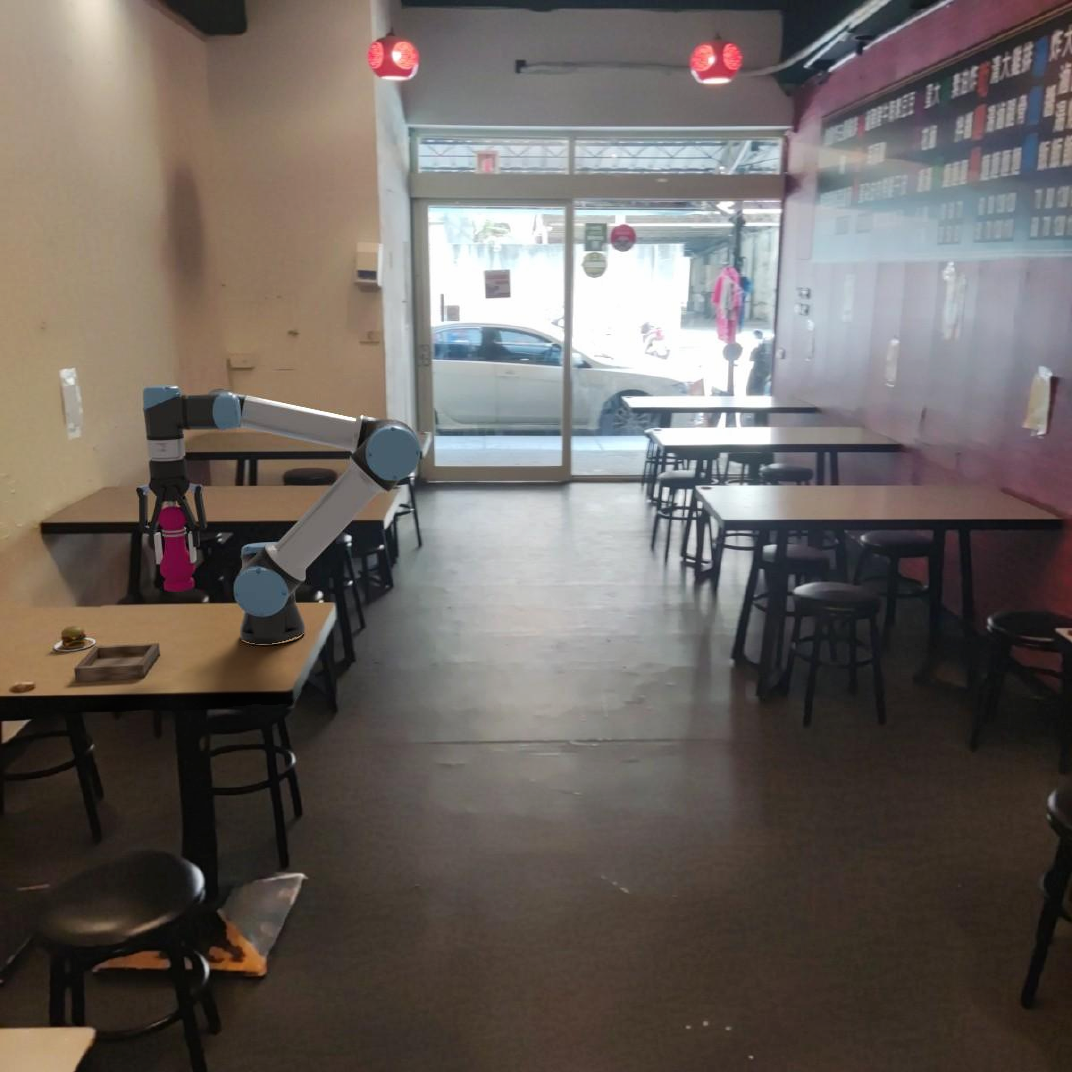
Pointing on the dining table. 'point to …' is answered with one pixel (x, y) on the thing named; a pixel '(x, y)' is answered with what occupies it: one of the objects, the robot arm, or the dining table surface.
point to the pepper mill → (175, 550)
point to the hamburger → (73, 638)
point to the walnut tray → (117, 662)
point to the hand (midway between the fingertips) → (176, 561)
